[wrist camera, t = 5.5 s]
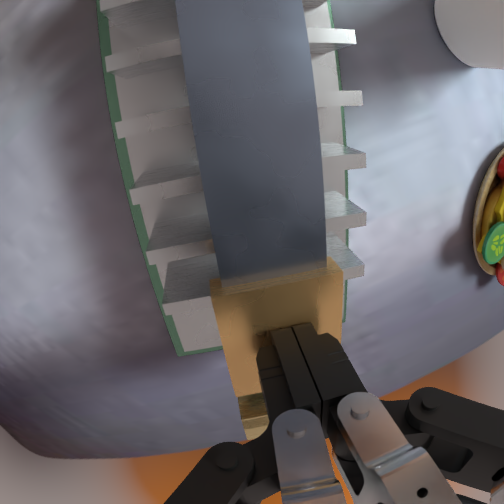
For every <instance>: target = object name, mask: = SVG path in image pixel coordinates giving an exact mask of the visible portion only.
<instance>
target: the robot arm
mask: <svg viewBox="0 0 504 504" xmlns="http://www.w3.org/2000/svg"><path fill="white" fill-rule="evenodd" d="M270 332H271V340H272V345H270V346H265V347H260V348H259V350H258V353H257V357H256V363H257V368H258V374H259V380H260V385H261V390H262V394H263V398H264V402H265V406H266V411H267V415H268V419H269V424H268V427H267V428H266V430H265V431H264V432H263V433H262V434H261V435H260V436H259V437H257V438H256V439H254V440H252V441H250V442H248V443H246V444H243V445H242V444H239V443H236V442H223V443H219V444H217V445H215V446H213V447H212V448H210V449H209V450H208V451H207V452H206V454H205V455H204V456H203V457H202V459H201V460H200V461H199V462H198V463H197V465H196V466H195V467H194V469H193V470H192V471H191V472H190V473H189V475H188V476H187V477H186V478H185V479H184V481H183V482H182V483H181V484H180V485H179V486H178V488H177V489H176V490H175V491H174V492H173V493H172V495H171V496H170V497H169V498H168V499H167V500H166V502H165V503H164V504H260V503H261V501H262V500H263V499H265V498H267V497H269V496H271V495H273V494H275V493H276V492H279V491H281V496H282V503H283V504H346V500H345V497H344V493H343V489H342V487H341V484H340V482H339V481H338V480H337V479H336V477H335V475H334V471H333V467H332V464H331V460H330V456H329V452H328V449H327V445H326V441H325V439H326V438H329V439H330V442H331V444H332V456H333V459H334V461H335V463H336V465H337V467H338V469H339V471H340V473H341V475H342V478H343V479H344V482H345V483H346V486H347V488H348V490H349V492H350V494H351V496H352V498H353V502H354V504H487V503H484V502H481V501H478V500H475V499H472V498H469V497H466V496H463V495H459V494H456V493H455V492H454V490H453V489H452V487H451V486H450V484H449V483H448V482H447V480H446V479H449V480H451V481H454V482H457V483H460V484H463V485H467V486H469V487H473V488H476V489H479V490H483V491H486V492H490V493H491V498H490V504H504V410H500V409H497V408H494V407H491V406H487V405H485V404H481V403H478V402H475V401H472V400H469V399H466V398H463V397H460V396H457V395H454V394H451V393H449V392H446V391H443V390H440V389H437V388H433V387H425V388H421V389H419V390H417V391H415V392H414V393H413V394H412V396H411V397H410V399H409V400H397V401H384V400H380V399H378V398H377V397H376V396H374V395H373V394H370V393H368V392H367V391H366V389H365V387H364V386H363V384H362V382H361V380H360V378H359V377H358V375H357V373H356V371H355V369H354V368H353V366H352V364H351V362H350V360H348V357H347V355H346V353H345V352H344V350H343V348H342V346H341V344H340V343H339V341H338V340H337V339H336V338H335V337H333V336H332V335H331V334H329V333H328V332H327V333H323V334H319V335H318V334H317V332H316V330H315V328H314V326H313V324H312V323H311V322H309V323H305V324H300V325H296V326H292V327H287V328H282V329H278V330H273V331H270Z"/></svg>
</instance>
